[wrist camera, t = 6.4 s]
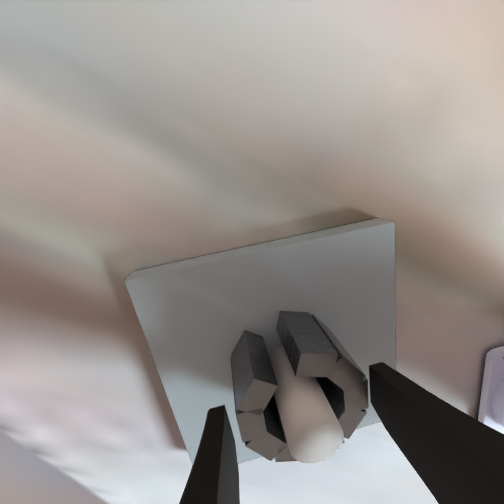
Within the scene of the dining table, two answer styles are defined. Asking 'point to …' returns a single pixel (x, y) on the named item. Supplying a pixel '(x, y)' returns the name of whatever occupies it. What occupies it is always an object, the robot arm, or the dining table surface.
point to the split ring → (304, 365)
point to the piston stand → (269, 325)
